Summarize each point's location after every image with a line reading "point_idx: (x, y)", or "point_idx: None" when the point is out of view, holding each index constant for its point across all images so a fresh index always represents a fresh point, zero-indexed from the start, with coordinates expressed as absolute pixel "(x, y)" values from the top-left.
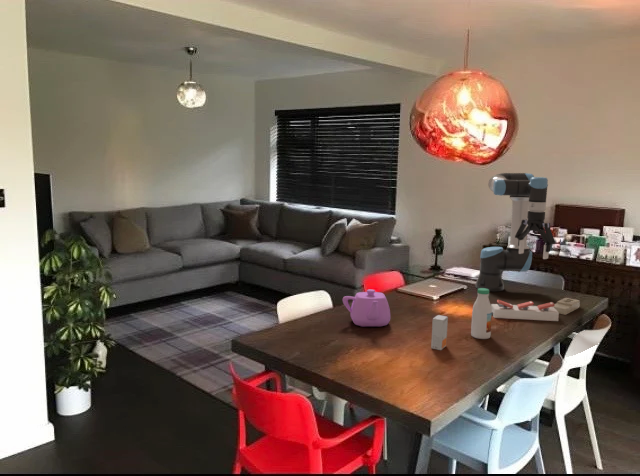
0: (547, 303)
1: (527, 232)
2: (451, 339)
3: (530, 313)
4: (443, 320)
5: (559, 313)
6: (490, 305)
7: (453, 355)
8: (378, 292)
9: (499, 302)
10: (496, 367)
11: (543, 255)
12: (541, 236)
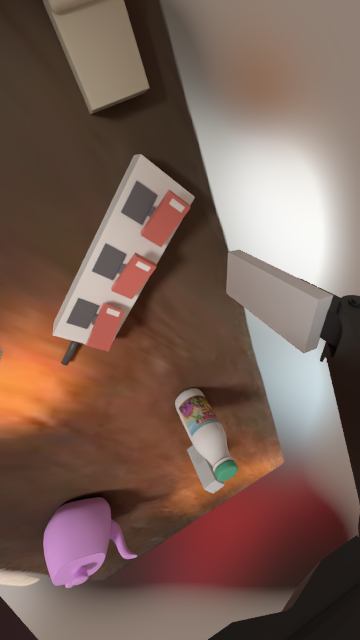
0: (163, 209)
1: (6, 629)
2: (181, 433)
3: None
4: (223, 483)
5: (123, 101)
6: (225, 436)
7: None
8: (62, 566)
9: (108, 348)
10: (264, 411)
11: (243, 303)
12: (348, 437)
